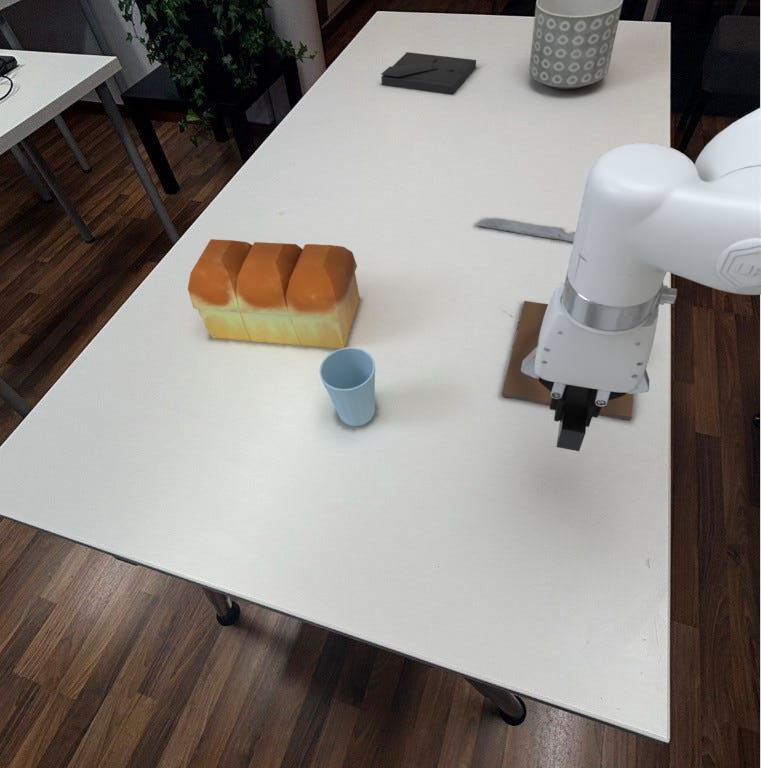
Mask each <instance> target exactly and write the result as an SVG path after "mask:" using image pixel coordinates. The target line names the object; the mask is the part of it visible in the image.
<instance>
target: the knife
mask: <svg viewBox="0 0 761 768" xmlns="http://www.w3.org/2000/svg"><path fill="white" fill-rule="evenodd" d="M476 227H482V228H486V229H492V230H499V231H504V232H509V233H515V234H522V235H529V236H535V237H540V238H546V239H551V240H558V241H559V240H560V241H565V242H569V243H573V242H574V237H575V232H572V233H567V232H564V231H563V230H562V227H556V226H546V225H538V224H532V223H526V222H521V221H514V220H510V219H504V218H485V219H482V220H481V221H479V222H478V223H477V224H476Z"/></svg>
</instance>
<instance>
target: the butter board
mask: <svg viewBox="0 0 761 768" xmlns="http://www.w3.org/2000/svg"><path fill="white" fill-rule="evenodd" d="M548 304H549V303H543V302H536V301H528V300H524V301H523V306H522V310H521V314H520V318H519V323H518V326H517V331H516V334H515V340H514V343H513V347H512V352H511V356H510V360H509V364H508V368H507V372H506V377H505V382H504V384H503V385H504V386H503V389H502V397H504V398H509V399H515V400H519V401H526V402H530V403H535V404H540V405H546V406H550V402H551V391H549V390H548V389H547V388H546V387H545V386H544V385H542V384H541V383H540V382H539V379H537V378H533V377H531V376H529V375H527V374H525V373H523V372H522V371H521V367H522V362H523V360H524V359H525V358H526V357H527V356H528V355H529V354H530V353H531V352H532V351H533V350H534V349H535V348H536V347H537V343H538V338H539V334H540V330H541V326H542V322H543V319H544V315H545V312H546V309H547V306H548ZM633 399H634V394H629V393H626V395H624V396H622V397H618V398H615V399H612V400H609V401H608V402H607V405H606V406H602V407H601V410H600V413H599V415H598V416H604V417H610V418H613V419H619V420H625V421H631V419H632V415H633V401H634V400H633Z"/></svg>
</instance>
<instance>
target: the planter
mask: <svg viewBox="0 0 761 768" xmlns="http://www.w3.org/2000/svg"><path fill="white" fill-rule="evenodd" d="M623 3H624V0H536V2H535V10H534V20H533V30H532V40H531V49H530V58H529V67H528V72H529V76H530V77H531V78H532V79H534V80H535V81H537V82H538V83H541V84H543V85H545V86H548V87H550V88H553V89H557V90H567V91H568V90H574V89H579V88H582V87H585V86H589V85H592V84H595V83H597V82H599V81H601V80H602V79H604V78H605V77H606V76H607V74H608V72H609V70H610V69H609V68H610V65H611V59H612V55H613V49H614V44H615V41H616V36H617V30H618V26H619V21H620V16H621V13H622V7H623Z"/></svg>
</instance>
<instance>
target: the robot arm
mask: <svg viewBox="0 0 761 768" xmlns="http://www.w3.org/2000/svg"><path fill="white" fill-rule="evenodd" d="M576 224H577V225H576V228H575V231H574V233H575V237H574V242H572V246H571V252H570V256H569V261H568V265H567V271H566V274H565V275H566V276H565V280H564V282H562V283H560V284H559V285H557V286H556V287H555V289H554V291H553V293H552V295H551V296H550V298H549V302H548V303H547V304H548V306H547V309H546V312H545V315H544V319H543V322H542V326H541V330H540V334H539V338H538V343H537V347H536V348H535V349H534V350H533V351H532V352H531V353H530V354H529V355H528V356H527V357H526V358H525V359H524V360H523V362H522V367H521V371H522V372H523V373H525V374H527V375H529V376H531V377H533V378H537V379H539V382H540V383H541V384H542V385H544V386H545V387H546V388H547V389H548V390H549V391H551V402H550V405H549V410H552V411H554V416H553V417H554V418H553V421H554V422H556V423H560V420H561V417H562V413H563V409H564V406H565V404H566V398H567V390H568V385H574V386H580V387H586V388H589V397H588V407H587V410H588V412H587V423H586V428H589V427H590V424H591V422H592V420H593V418H599V416H600V415H599V413H600V410H601V407H602V406H606V405H607V402H608V401H609V400H612V399H615V398H618V397H622V396H624V395H626V393H629V394H633V395H634V394H645V393H648V392H649V391H650V378H649V374H648V371H647V366H648V362H649V360H650V355H651V353H652V348H653V345H654V340H655V336H656V331H657V323H658V319H659V311H660V305H661V306H662V305H665V304H668V305H674V304H675V302H676V300H677V297H678V296H677V295H678V289H677V288H676V287H675V288H674V287H669V286H668V285H665V284H664V280H665V277H666V275H667V273H670V274H673V275H675V276H679V277H681V278H684V279H686V280H690V281H692V282H695V283H697V284H700V285H703V286H705V287H709V288H712V289H715V290H719V291H721V292H727V293H731V294H736V295H744V296H745V295H748V296H760V295H761V107H759V108H757V109H755V110H754V111H751V112H750V113H748V114H746V115H744V116H743V117H741V118H739V119H737V120H736V121H734V122H732V123H731V124H730V125H728V126H727V127H726V128H724V129H723V130H721V131H719V132H718V134H716V135H715V136H714V137H713V138H712V139H711V140H710V141H709V142H708V143H707V144H706V145H705V146H704V148H703V149H702V150H701V152H700V153H699V154H698V156H697V158H696V160H695V162H693V160H691V159H690V158H689V156H687V155H685V154H684V153H682V152H681V151H680V150H677V149H675V148H673V147H670V146H667V145H663V144H660V143H652V142H634V143H626V144H623V145H619V146H616V147H614V148H611V149H609V150H607V151H606V152H604V153H603V154H602V155H600V157H599V158H598V159H596V160H595V162H594V163H593V164H592V166H591V168H590V170H589V172H588V175H587V178H586V182H585V185H584V190H583V195H582V199H581V203H580V209H579V213H578V218H577V223H576Z"/></svg>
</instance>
